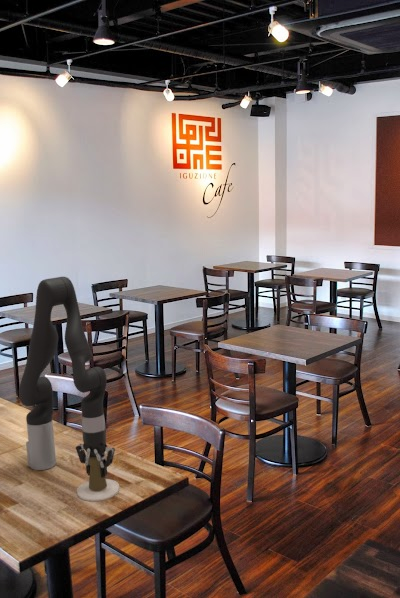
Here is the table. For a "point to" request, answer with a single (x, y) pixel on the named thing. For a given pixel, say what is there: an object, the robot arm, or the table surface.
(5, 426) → the table surface
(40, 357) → the robot arm
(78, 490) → the cream plate
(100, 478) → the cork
